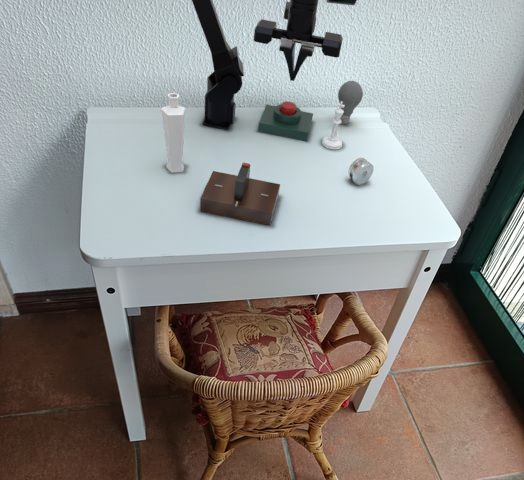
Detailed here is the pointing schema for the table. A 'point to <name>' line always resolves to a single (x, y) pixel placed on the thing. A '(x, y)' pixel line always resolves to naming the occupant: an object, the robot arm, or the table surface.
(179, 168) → the perfume bottle
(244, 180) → the knob
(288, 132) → the button box
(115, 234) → the table surface
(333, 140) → the chess piece
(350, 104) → the light bulb
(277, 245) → the table surface
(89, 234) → the table surface
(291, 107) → the button
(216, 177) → the panel
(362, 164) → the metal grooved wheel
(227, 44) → the robot arm
